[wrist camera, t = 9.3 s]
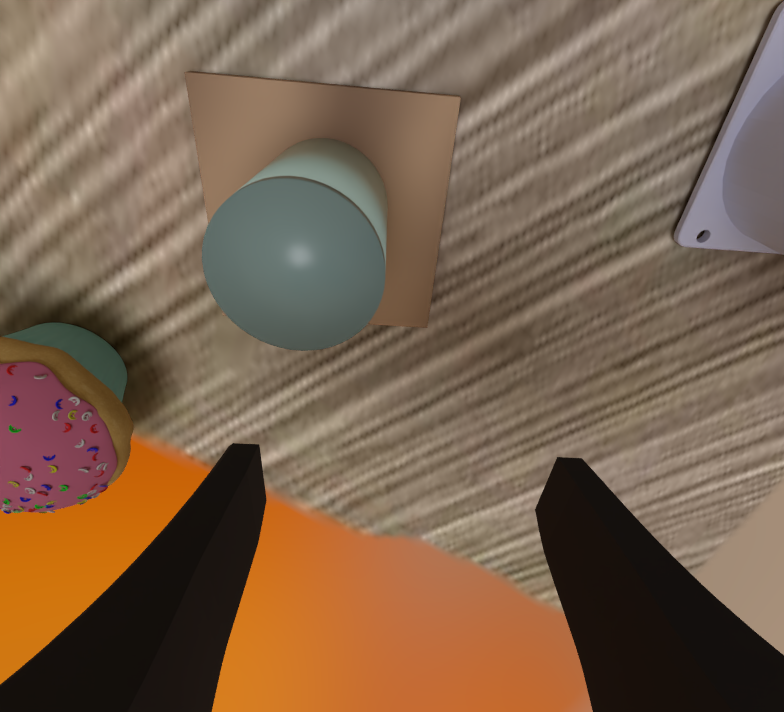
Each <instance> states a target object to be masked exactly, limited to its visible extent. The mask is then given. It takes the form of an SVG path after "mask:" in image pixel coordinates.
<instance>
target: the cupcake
mask: <svg viewBox="0 0 784 712" xmlns="http://www.w3.org/2000/svg"><path fill="white" fill-rule="evenodd" d="M126 384H127V371H126V367H125V364H124V362H123V360H122V359H121V357H120V355H119V354H118V353H117V352H116V350H115V349H114V348H113V347H112V346H111V345H110V344H109V343H107V342H106V341H105V340H103V339H102V338H101V337H99V336H98V335H96V334H94V333H92V332H90V331H88V330H86V329H84V328H81V327H78V326H75V325H71V324H66V323H43V324H39V325H36V326H33V327H30V328H27V329H24V330H21V331H18V332H15V333H12V334H9V335H5V336H0V509H1V510H2V511H4V512H5V513H7V514H9V513H11V512H14V513H20V512H22V511H23V512H39V513H47V511H48V512H52V513H54V512H55V511H52V510H56V509H61V508H64V507H68V506H72V505H75V504H84V503H85V502H87V500H88V499H91V498H96V497H97V496H98V495H99V494H100V493H101V492H103V491H105V490H106V489H107V488H108V486H109V485H111V484H112V483H113V482H114V481H115V480H117V478H118V477H119V476H120V475H121V474H122V472H123V471H124V468H125V467H126V465H127V462H128V459H129V456H130V449H131V448H130V439H131V435H132V432H133V422H132V420H131V418H130V415H129V413H128V411H127V409H126V408H125V406H124V405H123V404H122V400H123V395H124V391H125V387H126ZM95 495H96V496H95ZM8 511H9V512H8Z"/></svg>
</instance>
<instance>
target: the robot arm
mask: <svg viewBox="0 0 784 712" xmlns="http://www.w3.org/2000/svg"><path fill="white" fill-rule="evenodd" d="M703 230H705V231H704V234H703V235H702V237H700V238H698V239H696V238H697V235H698V234H699V233H700V232H701V231H703ZM674 240H675V241H676V243H678V244H679V245H681V246H683V247H692V248H705V249H719V250H733V251H746V252H760V253H774V254H782V255H784V1H783V2H782V3H781V4H780V5H779V6H778V7H777V9H776V10H775V12H774V14H773V16H772V18H771V20H770V23H769V25H768V27H767V29H766V31H765V34H764V36H763V38H762V40H761V42H760V45H759V47H758V49H757V51H756V53H755V56H754V58H753V60H752V62H751V64H750V67H749V69H748V71H747V73H746V76H745V78H744V80H743V82H742V84H741V87H740V89H739V91H738V93H737V95H736V98H735V100H734V102H733V104H732V106H731V109H730V111H729V113H728V115H727V117H726V120H725V122H724V124H723V126H722V128H721V131H720V133H719V135H718V137H717V140H716V142H715V144H714V146H713V148H712V151H711V153H710V155H709V157H708V159H707V162H706V164H705V166H704V168H703V170H702V173H701V175H700V177H699V179H698V181H697V184H696V186H695V188H694V190H693V192H692V195H691V197H690V199H689V201H688V203H687V206H686V208H685V210H684V212H683V215H682V217H681V219H680V221H679V223H678V226H677V228H676V230H675V233H674ZM265 505H266V493H265V486H264V478H263V470H262V462H261V455H260V447H259V445H258V444H235V443H233V444H232V445H230V446H229V447H228V448H227V450H226V451H225V453H224V454H223V455H222V457H221V458H220V459H219V461H218V462H217V464H216V465H215V466H214V468H213V469H212V470H211V472H210V473H209V474H208V476H207V477H206V478H205V480H204V481H203V482H202V483H201V485H200V486H199V487H198V488H197V490H196V491H195V492H194V494H193V495H192V496H191V497H190V498H189V499H188V501H187V502H186V503H185V504H184V506H183V507H182V508H181V509H180V510H179V512H178V513H177V514H176V515H175V516H174V518H173V519H172V520H171V521H170V522H169V523H168V525H167V526H166V527H165V528H164V529H163V531H161V533H160V534H159V535H158V536H157V537H156V538H155V539H154V540H153V542H152V543H151V544H150V545H149V546H148V547H147V548H146V549H145V550H144V551H143V552H142V554H141V555H140V556H139V557H138V558H137V559H136V560H135V561H134V562H133V563H132V564H131V565H130V566H129V567H128V569H127V570H126V571H125V572H124V573H123V574H122V575H121V576H120V577H119V578H118V579H117V580H116V581H115V582H114V583H113V584H112V585H111V586H110V587H109V588H108V589H107V590H106V591H105V592H104V593H103V594H102V595H101V596H100V597H99V598H97V600H96V601H94V602H93V604H91V605H90V606H89V607H88V608H87V609H86V610H85V611H84V612H83V613H82V614H81V615H80V616H79V617H77V618H76V619H75V620H74V621H73V622H72V623H71V624H70V625H69V626H68V627H66V628H65V629H64V630H63V631H62V632H61V633H60V634H59V635H58V636H57V637H55V638H54V639H53V640H52V641H51V642H50V643H49V644H48V645H47V646H46V647H45V648H43V649H42V650H41V651H40V652H39V653H38V654H36V655H35V656H34V657H33V658H32V659H31V660H29V661H28V662H27V663H26V664H25V665H24V666H22V667H21V668H20V669H19V670H18V671H16V672H15V673H14V674H13V675H11V676H10V677H9V678H8V679H7V680H5V681H4V682H3V683H2V684H0V712H212V707H213V702H214V698H215V693H216V689H217V684H218V680H219V675H220V670H221V666H222V662H223V658H224V654H225V650H226V646H227V643H228V640H229V637H230V633H231V630H232V627H233V623H234V620H235V617H236V614H237V610H238V607H239V604H240V601H241V597H242V594H243V591H244V588H245V585H246V581H247V578H248V575H249V571H250V568H251V564H252V562H253V558H254V555H255V552H256V548H257V545H258V541H259V536H260V531H261V526H262V521H263V515H264V510H265ZM535 511H536V516H537V521H538V527H539V532H540V536H541V541H542V545H543V550H544V553H545V556H546V560H547V563H548V566H549V569H550V572H551V575H552V578H553V581H554V584H555V587H556V590H557V593H558V596H559V598H560V601H561V604H562V607H563V610H564V613H565V616H566V619H567V622H568V625H569V628H570V631H571V634H572V637H573V640H574V643H575V646H576V649H577V652H578V655H579V659H580V662H581V665H582V669H583V673H584V677H585V681H586V685H587V689H588V693H589V697H590V701H591V706H592V710H593V712H784V655H783V654H781V653H780V652H779V651H778V650H776V649H775V648H774V647H773V646H772V645H770V644H769V643H768V642H767V641H766V640H764V639H763V638H762V637H761V636H759V635H758V634H757V633H756V632H755V631H754V630H752V629H751V628H750V627H749V626H748V625H747V624H745V623H744V622H743V621H742V620H741V619H740V618H739V617H737V616H736V615H735V614H734V613H733V612H732V611H731V610H729V609H728V608H727V607H726V606H725V605H724V604H722V603H721V602H720V601H719V600H718V599H717V598H716V597H715V596H714V595H713V594H711V593H710V592H709V591H708V590H707V589H706V588H705V587H704V586H703V585H701V583H699V581H698V580H697V579H696V578H695V577H694V576H692V575H691V574H690V573H689V572H688V571H687V570H686V569H685V568H684V567H683V566H682V565H681V564H680V563H679V562H678V561H677V560H676V559H675V558H674V557H673V556H672V555H671V554H670V553H669V552H668V551H667V550H666V549H665V548H664V547H663V546H662V545H661V544H660V543H659V542H658V541H657V540H656V539H655V538H654V537H653V536H652V535H651V533H650V532H649V531H648V530H647V529H646V528H645V527H644V526H643V525H642V524H641V523H640V522H639V521H638V520H637V519H636V518H635V516H634V515H633V514H632V513H631V512H630V511H629V510H628V509H627V508H626V507H625V506H624V504H623V503H622V502H621V501H620V500H619V499H618V498H617V497H616V496H615V495H614V493H613V492H612V491H611V490H610V489H609V488H608V487H607V486H606V485H605V483H604V482H603V481H602V480H601V479H600V478H599V477H598V476H597V475H596V473H595V472H594V471H593V470H592V469H591V468H590V467H589V466H588V465H587V464H586V463H585V461H584V460H583V459H582V458H562V457H557V459H556V462H555V464H554V466H553V469H552V471H551V473H550V476H549V478H548V480H547V483H546V485H545V488H544V490H543V492H542V495H541V497H540V499H539V502H538V504H537V506H536V509H535Z"/></svg>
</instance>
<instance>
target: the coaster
mask: <svg viewBox="0 0 784 712" xmlns="http://www.w3.org/2000/svg"><path fill="white" fill-rule="evenodd" d="M184 73H185V79H186V85H187V91H188V98H189V104H190V110H191V117H192V123H193V129H194V136H195V142H196V148H197V155H198V161H199V167H200V174H201V180H202V186H203V193H204V199H205V205H206V212H207V218H208V224H209V222H210V220H211V218H212V217H213V215H214V214H215V212H216V211H217V209H218V208H219V207H220V206H221V205H222V204H223V203H224V202H225V201H226V200H227V199H228V198H229V197H230V196H232V195H233V194H234V193H235V192H236V191H237V190H239V189H240V188H241V187H242V186H243V185H245V184H246V183H247V182H248V181H249V180H251V179H252V178H253V177H254V176H255V175H257V174H258V173H259V172H260V171H261V170H263V169H264V168H265V167H266V166H267V165H269V164H270V163H271V162H272V161H273V160H274V159H276V158H277V157H278V156H279V155H280V154H282V153H283V152H284V151H285V150H287V149H288V148H289V147H291V146H293V145H295V144H296V143H298V142H301V141H304V140H308V139H313V138H329V139H335V140H339V141H342V142H344V143H347V144H349V145H351V146H353V147H354V148H356V149H358V150H359V151H360V152H361V153H363V154H364V155H365V156H366V157H367V158H368V159H369V160H370V161H371V162H372V164H373V165H374V166H375V167H376V169H377V171H378V172H379V174H380V176H381V178H382V181H383V183H384V186H385V189H386V194H387V204H388V211H387V242H386V272H385V286H384V292H383V296H382V299H381V302H380V304H379V307H378V309H377V311H376V312H375V314H374V316H373V317H372V319H371V320H370V321H369V322H368V324H373V325H389V326H406V327H423V328H427V325H428V318H429V311H430V304H431V298H432V291H433V284H434V277H435V270H436V263H437V257H438V250H439V243H440V236H441V229H442V222H443V215H444V209H445V202H446V195H447V188H448V181H449V174H450V168H451V161H452V154H453V147H454V140H455V133H456V126H457V120H458V113H459V106H460V99H461V97H459V96H456V95H445V94H434V93H423V92H412V91H401V90H390V89H379V88H369V87H358V86H347V85H336V84H325V83H314V82H303V81H292V80H281V79H270V78H260V77H249V76H238V75H227V74H216V73H205V72H194V71H189V72H184ZM222 313H223V316H227V315H226V314H225V313H224V312H223V310H222Z"/></svg>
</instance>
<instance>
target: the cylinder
mask: <svg viewBox="0 0 784 712" xmlns="http://www.w3.org/2000/svg"><path fill="white" fill-rule="evenodd" d="M387 211H388V204H387V194H386V189H385V186H384V183H383V181H382V178H381V176H380V174H379V172H378V171H377V169H376V167H375V166H374V165H373V164H372V162H371V161H370V160H369V159H368V158H367V157H366V156H365V155H364V154H363V153H361V152H360V151H359V150H358V149H356V148H354V147H353V146H351V145H349V144H347V143H344V142H342V141H339V140H335V139H329V138H313V139H308V140H304V141H301V142H298V143H296V144H295V145H293V146H291V147H289V148H288V149H287V150H285V151H284V152H283V153H282V154H280V155H279V156H278V157H277V158H276V159H274V160H273V161H272V162H271V163H270V164H269V165H267V166H266V167H265V168H264V169H263V170H261V171H260V172H259V173H258V174H257V175H255V176H254V177H253V178H252V179H251V180H249V181H248V182H247V183H246V184H245V185H243V186H242V187H241V188H240V189H239V190H237V191H236V192H235V193H234V194H233V195H232V196H230V197H229V198H228V199H227V200H226V201H225V202H224V203H223V204H222V205H221V206H220V207H219V208H218V209H217V211H216V212H215V214H214V215H213V217H212V218H211V220H210V222H209V224H208V227H207V229H206V233H205V236H204V240H203V247H202V263H203V269H204V274H205V278H206V281H207V284H208V286H209V289H210V291H211V293H212V295H213V297H214V299H215V300H216V302H217V304H218V305H219V306H220V308H221V309H222V310H223V312H224V313H225V314H226V315H227V316H228V317H229V318H230V319H231V320H232V321H233V322H234V323H235V324H236V325H237V326H239V327H240V328H241V329H242V330H244V331H245V332H247V333H248V334H250V335H251V336H253V337H255V338H257V339H259V340H261V341H263V342H265V343H268V344H270V345H274V346H277V347H280V348H285V349H290V350H301V351H306V350H319V349H324V348H328V347H332V346H335V345H337V344H340V343H343V342H344V341H346V340H348V339H350V338H352V337H353V336H354V335H356V334H357V333H358V332H360V331H361V330H362V329H363V328H364V327H365V326H366V325H367V324H368V322H369V321H370V320H371V319H372V317H373V316H374V314H375V312H376V311H377V309H378V307H379V304H380V302H381V299H382V296H383V292H384V286H385V272H386V242H387Z"/></svg>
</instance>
